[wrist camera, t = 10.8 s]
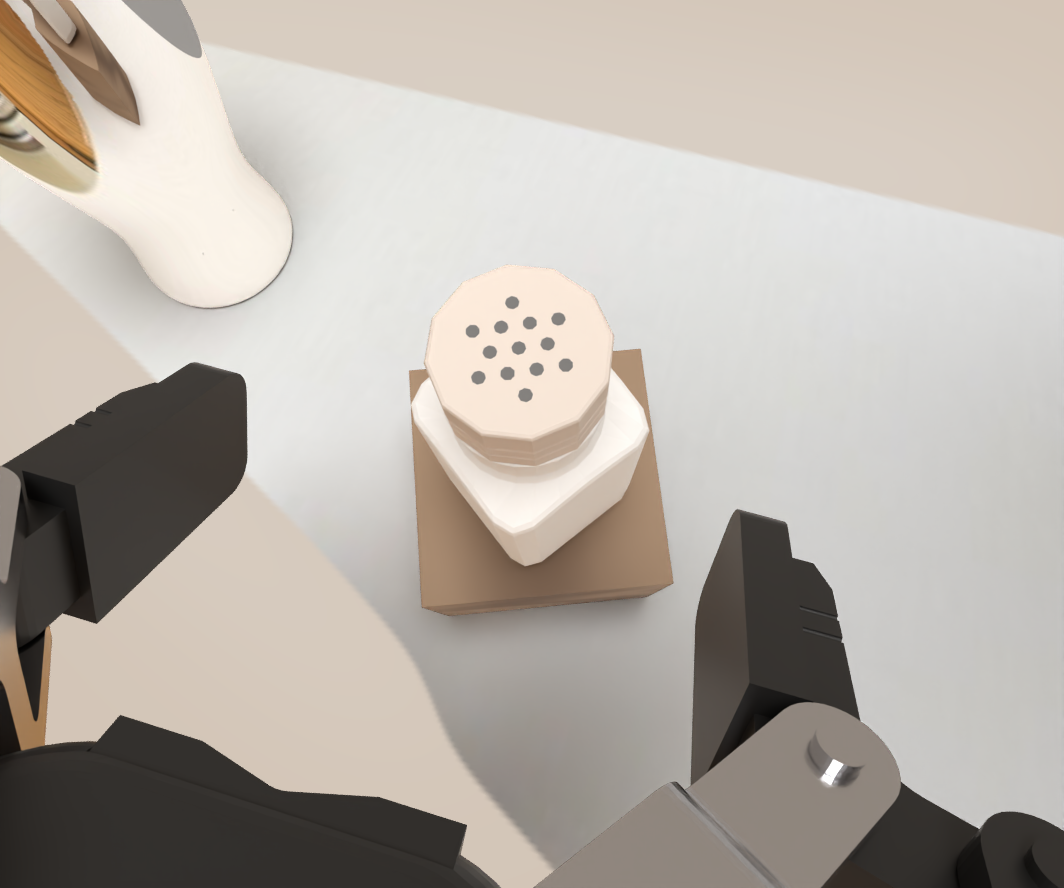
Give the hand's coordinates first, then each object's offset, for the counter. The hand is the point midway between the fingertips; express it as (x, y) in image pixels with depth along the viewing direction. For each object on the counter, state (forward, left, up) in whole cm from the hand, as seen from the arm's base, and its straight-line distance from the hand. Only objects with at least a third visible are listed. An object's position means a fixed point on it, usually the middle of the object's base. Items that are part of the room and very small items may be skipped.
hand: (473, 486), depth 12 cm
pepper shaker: (-1, -2, -10) cm, 10 cm away
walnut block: (-1, -2, -15) cm, 16 cm away
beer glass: (+11, -14, -15) cm, 24 cm away
